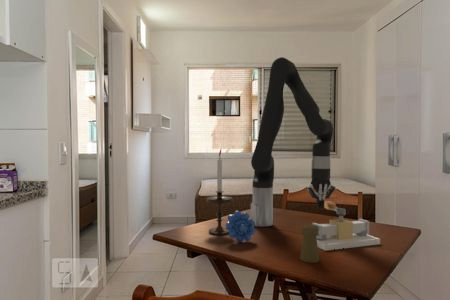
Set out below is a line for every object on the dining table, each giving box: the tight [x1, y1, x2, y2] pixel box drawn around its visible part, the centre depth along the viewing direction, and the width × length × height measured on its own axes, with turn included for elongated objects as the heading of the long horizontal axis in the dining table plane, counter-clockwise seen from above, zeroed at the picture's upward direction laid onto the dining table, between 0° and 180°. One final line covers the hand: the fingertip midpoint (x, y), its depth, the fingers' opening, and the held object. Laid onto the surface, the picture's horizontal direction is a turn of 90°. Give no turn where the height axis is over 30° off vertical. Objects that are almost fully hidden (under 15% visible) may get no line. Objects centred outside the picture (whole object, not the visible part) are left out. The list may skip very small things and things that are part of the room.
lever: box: [323, 200, 347, 216], centre depth 139 cm, size 3×19×2 cm, turn 2°
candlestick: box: [206, 149, 233, 236], centre depth 145 cm, size 11×11×35 cm
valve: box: [311, 215, 381, 252], centre depth 132 cm, size 24×14×10 cm, turn 109°
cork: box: [299, 224, 320, 263], centre depth 112 cm, size 6×6×11 cm
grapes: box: [225, 210, 256, 243], centre depth 130 cm, size 12×7×12 cm, turn 104°
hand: (320, 208), depth 145 cm, fingers closed
